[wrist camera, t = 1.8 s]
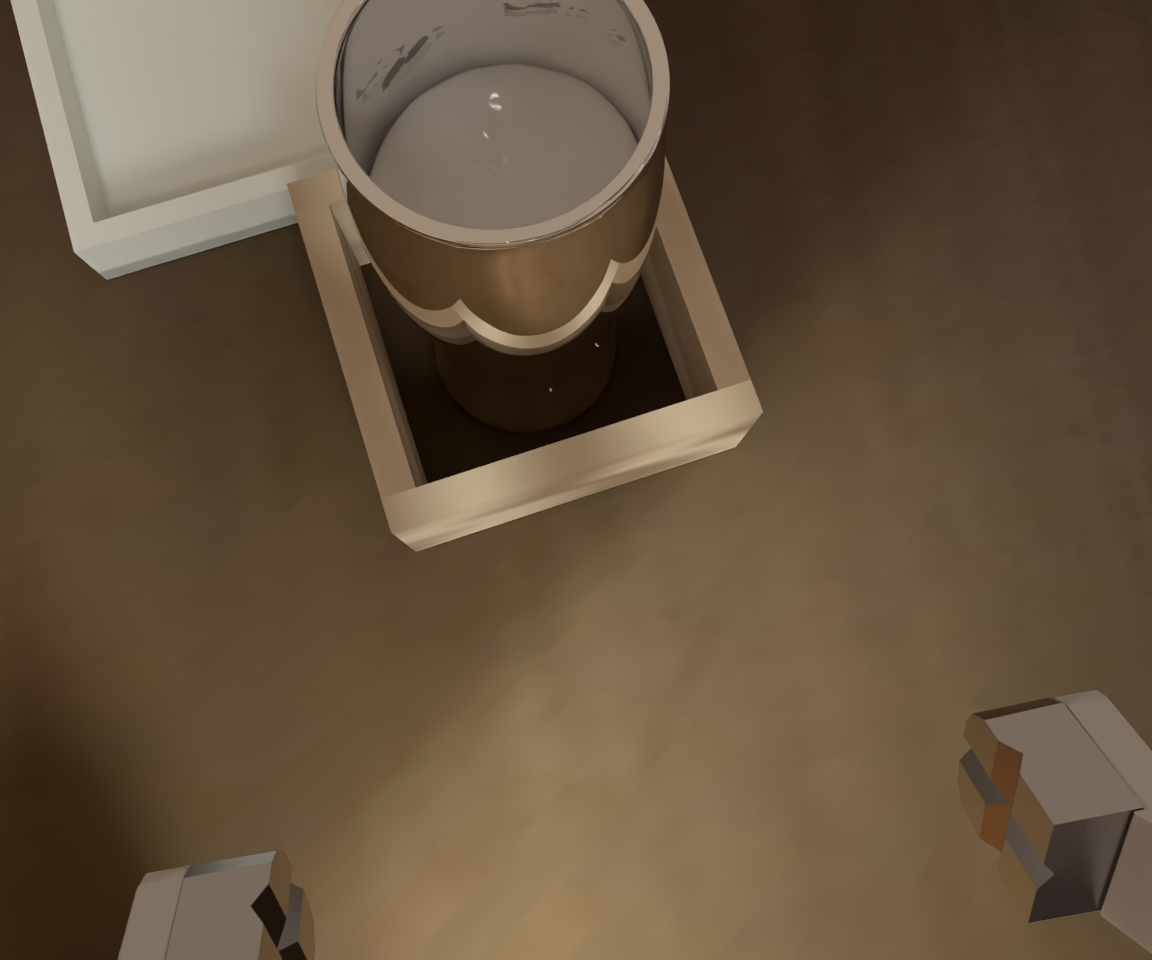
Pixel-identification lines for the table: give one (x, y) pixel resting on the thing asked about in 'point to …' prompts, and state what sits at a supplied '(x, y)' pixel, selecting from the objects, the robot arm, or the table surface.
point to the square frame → (557, 470)
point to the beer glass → (502, 182)
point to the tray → (175, 119)
